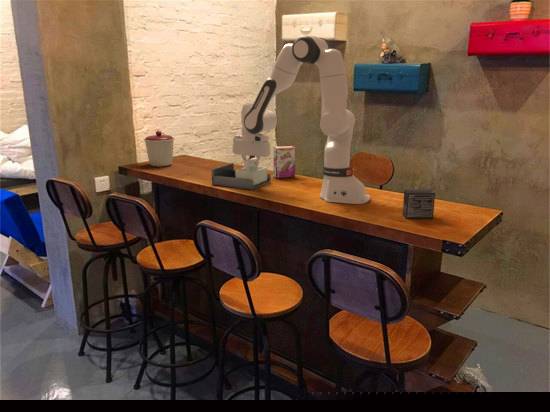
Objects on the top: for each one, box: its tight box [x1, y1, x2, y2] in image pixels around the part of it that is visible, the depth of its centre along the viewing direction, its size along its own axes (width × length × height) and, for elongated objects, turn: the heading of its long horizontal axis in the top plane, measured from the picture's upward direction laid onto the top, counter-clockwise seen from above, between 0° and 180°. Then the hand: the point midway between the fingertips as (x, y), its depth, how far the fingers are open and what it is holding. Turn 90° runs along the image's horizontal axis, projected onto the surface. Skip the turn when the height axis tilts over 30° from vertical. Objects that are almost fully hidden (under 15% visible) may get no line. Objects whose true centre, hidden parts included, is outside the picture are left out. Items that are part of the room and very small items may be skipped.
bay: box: [211, 162, 272, 191], centre depth 230 cm, size 24×18×8 cm
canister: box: [143, 130, 175, 168], centre depth 275 cm, size 18×18×21 cm
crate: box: [234, 157, 268, 186], centre depth 226 cm, size 10×14×12 cm
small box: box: [402, 188, 436, 220], centre depth 175 cm, size 11×6×10 cm, turn 88°
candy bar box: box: [272, 145, 297, 179], centre depth 243 cm, size 11×5×16 cm, turn 110°
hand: (251, 164), depth 225 cm, fingers open, 5 cm apart
